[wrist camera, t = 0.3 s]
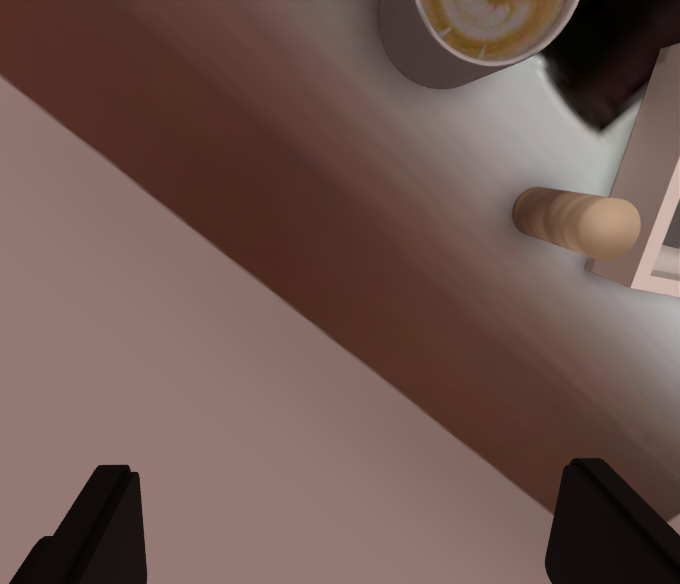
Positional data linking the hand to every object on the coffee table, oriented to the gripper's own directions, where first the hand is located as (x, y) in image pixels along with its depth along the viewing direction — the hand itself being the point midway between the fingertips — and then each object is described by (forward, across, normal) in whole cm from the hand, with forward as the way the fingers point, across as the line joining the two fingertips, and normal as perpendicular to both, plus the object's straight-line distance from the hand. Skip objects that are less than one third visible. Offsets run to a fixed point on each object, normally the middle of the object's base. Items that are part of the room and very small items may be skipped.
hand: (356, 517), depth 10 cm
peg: (+30, -19, -4) cm, 36 cm away
